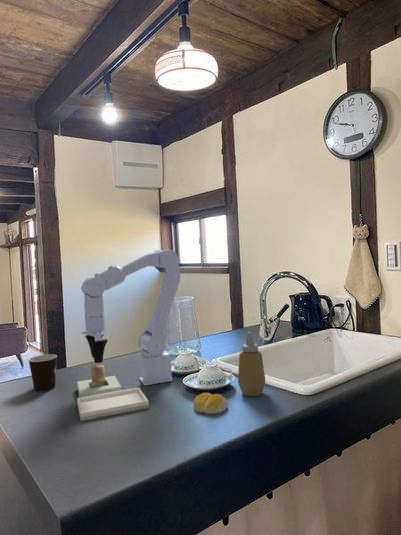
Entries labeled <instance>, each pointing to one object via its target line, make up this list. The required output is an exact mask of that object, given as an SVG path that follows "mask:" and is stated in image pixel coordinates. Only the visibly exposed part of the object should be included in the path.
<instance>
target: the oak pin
mask: <svg viewBox="0 0 401 535" xmlns="http://www.w3.org/2000/svg"><path fill="white" fill-rule="evenodd" d="M90 373H91V377H90V378H91V379H92V388H95V387H101V386H105V377H106V375H105V365H103V364H95V365H93V366H90Z"/></svg>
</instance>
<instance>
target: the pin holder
mask: <svg viewBox="0 0 401 535" xmlns="http://www.w3.org/2000/svg"><path fill="white" fill-rule="evenodd" d="M76 384H77V393H78V396H79V397H78V398H80V397H86V396H92V395H98V394H104V393H109V392H115V391H121V390H122V385H121V383H120V381H118V378H117V377H116V375H112V376H105V386H101V387H95V388H92V378H91V379H85V380H80V381H79V380H78V381H77V383H76Z"/></svg>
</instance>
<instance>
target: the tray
mask: <svg viewBox="0 0 401 535" xmlns="http://www.w3.org/2000/svg"><path fill="white" fill-rule="evenodd" d="M76 404H77V409H78V414H79V420H80V422H83V421H87V420H88V421H89V420H93V419H98V418H103V417H108V416H110V417H111V416H114V415H121V414H124V413H129V412H135V411H139V410H140V411H141V410H145V409H150V408H149V407H150V403H149V399H148V398H147V397H146V395H145V393H144V392H143V391H142V390H141V388H140V387H134V388H128V389H121V391H115V392H109V393H104V394H98V395H92V396H86V397H77V398H76Z"/></svg>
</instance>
